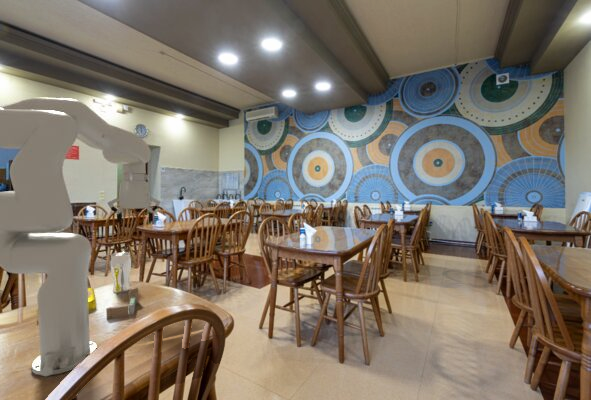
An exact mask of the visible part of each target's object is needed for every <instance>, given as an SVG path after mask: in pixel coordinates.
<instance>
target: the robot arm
mask: <svg viewBox="0 0 591 400" xmlns="http://www.w3.org/2000/svg"><path fill="white" fill-rule="evenodd" d="M76 140H79V141H80V142H82V143H84V144H85V145H87V147H90V148H92V149H95V150H100V151H101V152H102V156H103V158H104V159H105V160H106V161H107V162H108V163H111V164H115V165H116V164H118V165H119V164H121V165H122V167H121V168H122V181H121V182H120V184H119V194H118V197H117V198H114V199H113V200H110V201H108V202H107V205H108V207H109V209H110V210H111V211H112V212H114V213H115V214H116V223H117V224H118V225H119V226H121V225H122V224H123V213H122V212H123V210H127V209H128V210H130V209H133V210H134V209H135V210H137V209H146V210H147V211H148V224H151V223H152V222H153V221H154V217H153V215H154V214H153V213H154V212H155V211H156V210H157V209H158V208H159V206H160V204H161V201H160V200H159V199H156V198H154V197H152V196H151V195H150V194H151V193H150V192H151V190H150V185H149V184H150V183H149V182H148V181H147V180H150V179H151V176H150V175H148V174H147V173H146V172H147V171H146V169H147V168H146V164H147V163H148V162H149V161H150V160H151V157H152V151H151V148H150V147H149V145H148V143H147V142H146V141H145V140H144V139H143V138H142V137H141V136H139V135H138V134H136V133H134V132H131V131H129V130H125V129H123V128H120V127H118V126H116V125H112V124H109V123H108V122H107V121H106V120H104V119H103V118H102V117H101V116H99V115H98V114H97V113H96V112H95V111H94V110H93V109H91V108H90V107H89V106H88V105H87V104H85V103H84V102H82V101H80V100H77V99H73V98H63V97H61V98H59V97H58V98H56V97H32V98H31V97H30V98H27V99H22V100H19V101H15V102H12V103H8V104H4V105H0V148H1V149H8V150H18V152H17V154H15V157H14V158H13V160H12V162H11V163H10V168H9V177H10V180H11V181H10V182H11V185H12V188H13V190H8V191H0V267H1V269H3V270H4V271H5V272H7V273H10V274H18V275H19V274H20V275H21V274H23V275H24V274H25V275H26V274H28V275H29V274H47V276H46V279H45V280H44V282H43V283H42V284H41V285H40V287H39V289H38V291H37V295H36V298H37V299H36V300H37V309H38V320H37V322H38V336H39V337H38V339H39V356H37V357H36V358H35V359H34V360H33V362H32V363H31V371H32V373H33V374H35V375H37V376H42V377H49V376H53V375H59V374H62V373H63V374H64V373H67V372H69V371H72V370H74V368H75V367H76V366H77V365H78V364H79V363H81V362H82V361H83V360H84V359H85V358H86V357H87V356H88V355H90V354H91V353H92V352H93V351H94V350H95V349H96V348H97V349H98V344H97V343H96V342H94V341H92V340H91V339H90V338H91V337H90V315H89V313H90V311H89V310H88V288H89V287H88V285H89V284H88V279H89V278H88V277H89V275H88V274H89V265H90V260H91V255H92V245H91V242H90V241H89V238H87V237H85V236H84V235H81V234H79V233H72V232H62V231H64V230H66V229H68V228H69V227H70V226H71V225H72V223H73V222H74V212H73V206H72V203H71V200H70V199H71V198H70V196H69V193H68V190H67V189H68V188H67V186H66V182H65V179H64V174H63V166H64V162H65V159H66V157H67V155H68V153H69V152H70V150H71V148H72V146H73V145H74V144H75V142H76ZM151 202H153V203H155V205H154V206H153V207H152V206H151ZM116 203H118V205H119V206H118V208H117V207H115V205H114V204H116ZM75 369H76V368H75Z"/></svg>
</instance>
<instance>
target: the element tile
mask: <svg viewBox="0 0 591 400" xmlns="http://www.w3.org/2000/svg"><path fill="white" fill-rule="evenodd" d="M95 293H96V292H95V289H94V288H92V287H88V310H89V312H91V311H93V310H95V309H96V307H97V304H96V294H95ZM36 318H37V321H38V308H36Z"/></svg>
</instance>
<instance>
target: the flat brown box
mask: <svg viewBox="0 0 591 400" xmlns="http://www.w3.org/2000/svg"><path fill="white" fill-rule="evenodd" d="M105 311H106V320H112V319H116V318H123V317H128V316H133V315H135V310H134V304H129V303H128V304H124V305H123V304H122V305H116V306H112V307H111V306H109V307H107V308H106V310H105Z"/></svg>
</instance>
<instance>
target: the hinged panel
mask: <svg viewBox="0 0 591 400" xmlns="http://www.w3.org/2000/svg"><path fill="white" fill-rule="evenodd" d="M139 298H140V297H139V287H138V286H132V287H131V286H130V288H129V291H128V305H129V304H134V311H135V308H136V305H138V304H139V301H140V300H139Z"/></svg>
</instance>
